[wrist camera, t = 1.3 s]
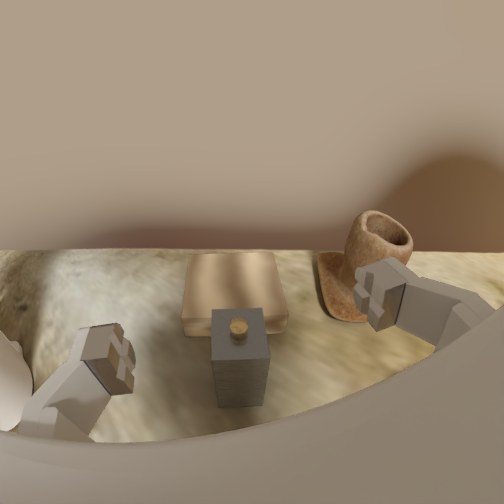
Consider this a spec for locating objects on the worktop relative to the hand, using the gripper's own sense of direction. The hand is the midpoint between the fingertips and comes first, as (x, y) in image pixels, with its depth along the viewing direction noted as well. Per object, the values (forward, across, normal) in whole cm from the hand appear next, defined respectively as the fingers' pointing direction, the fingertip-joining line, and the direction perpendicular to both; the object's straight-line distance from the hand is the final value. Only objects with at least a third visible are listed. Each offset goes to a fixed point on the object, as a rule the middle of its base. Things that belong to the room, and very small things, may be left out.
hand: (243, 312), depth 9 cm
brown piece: (+25, -20, +24) cm, 41 cm away
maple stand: (+28, -1, +21) cm, 35 cm away
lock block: (+13, +1, +23) cm, 26 cm away
